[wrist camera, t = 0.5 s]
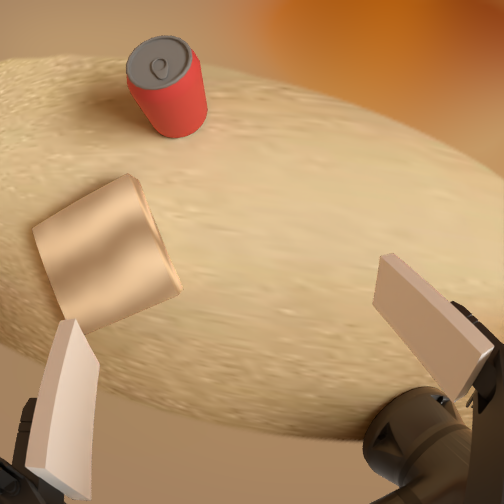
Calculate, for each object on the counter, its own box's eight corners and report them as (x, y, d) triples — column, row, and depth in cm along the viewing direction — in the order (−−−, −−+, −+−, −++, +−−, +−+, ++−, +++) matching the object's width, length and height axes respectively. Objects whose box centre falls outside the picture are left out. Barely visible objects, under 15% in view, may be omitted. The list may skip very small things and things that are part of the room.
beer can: (159, 147, 33) (127, 106, 21) (146, 100, 33) (114, 47, 21) (215, 128, 33) (208, 78, 21) (199, 81, 33) (187, 21, 21)
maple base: (183, 289, 34) (177, 295, 30) (89, 329, 33) (74, 339, 29) (138, 180, 33) (127, 173, 29) (49, 229, 32) (31, 228, 28)
